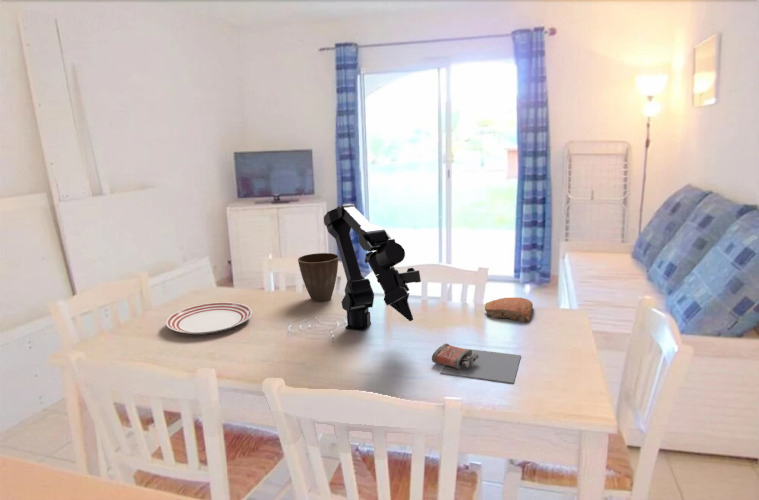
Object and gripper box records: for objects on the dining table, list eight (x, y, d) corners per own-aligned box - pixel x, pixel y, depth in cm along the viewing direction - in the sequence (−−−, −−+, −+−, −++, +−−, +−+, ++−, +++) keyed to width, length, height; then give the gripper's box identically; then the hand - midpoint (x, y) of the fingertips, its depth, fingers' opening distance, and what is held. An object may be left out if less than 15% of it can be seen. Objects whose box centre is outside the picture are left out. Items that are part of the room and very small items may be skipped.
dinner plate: (269, 320, 171) (268, 311, 170) (195, 347, 151) (194, 337, 150) (223, 305, 188) (222, 296, 188) (151, 328, 168) (149, 318, 167)
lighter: (432, 365, 133) (466, 374, 127) (431, 353, 132) (466, 362, 126) (447, 352, 139) (481, 360, 133) (447, 340, 138) (480, 349, 132)
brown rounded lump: (490, 289, 177) (534, 299, 172) (487, 307, 178) (531, 317, 173) (483, 297, 163) (531, 308, 158) (480, 316, 164) (527, 327, 159)
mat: (440, 373, 128) (440, 372, 128) (454, 348, 142) (454, 347, 142) (513, 383, 121) (513, 382, 121) (520, 356, 136) (520, 355, 136)
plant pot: (293, 303, 186) (290, 261, 183) (312, 291, 200) (309, 252, 196) (330, 306, 181) (327, 263, 178) (347, 294, 195) (345, 253, 191)
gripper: (408, 257, 132) (438, 310, 131) (410, 257, 151) (436, 303, 150) (371, 278, 133) (400, 330, 132) (378, 275, 151) (403, 321, 151)
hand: (411, 320), depth 141 cm, fingers closed
